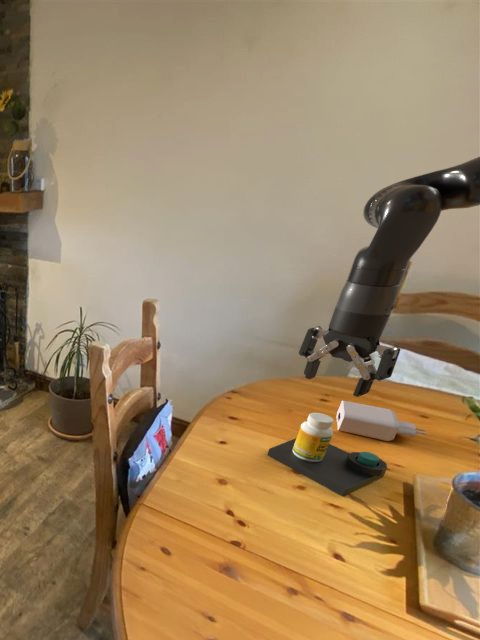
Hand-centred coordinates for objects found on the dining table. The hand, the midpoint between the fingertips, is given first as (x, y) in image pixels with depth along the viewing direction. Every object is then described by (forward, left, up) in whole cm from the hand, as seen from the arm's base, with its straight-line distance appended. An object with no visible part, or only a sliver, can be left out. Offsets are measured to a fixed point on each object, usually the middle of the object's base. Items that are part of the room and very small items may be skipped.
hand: (333, 386), depth 82 cm
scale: (-2, -2, -19) cm, 19 cm away
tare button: (-7, -6, -15) cm, 18 cm away
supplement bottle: (0, 0, -17) cm, 17 cm away
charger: (0, -26, -19) cm, 32 cm away
